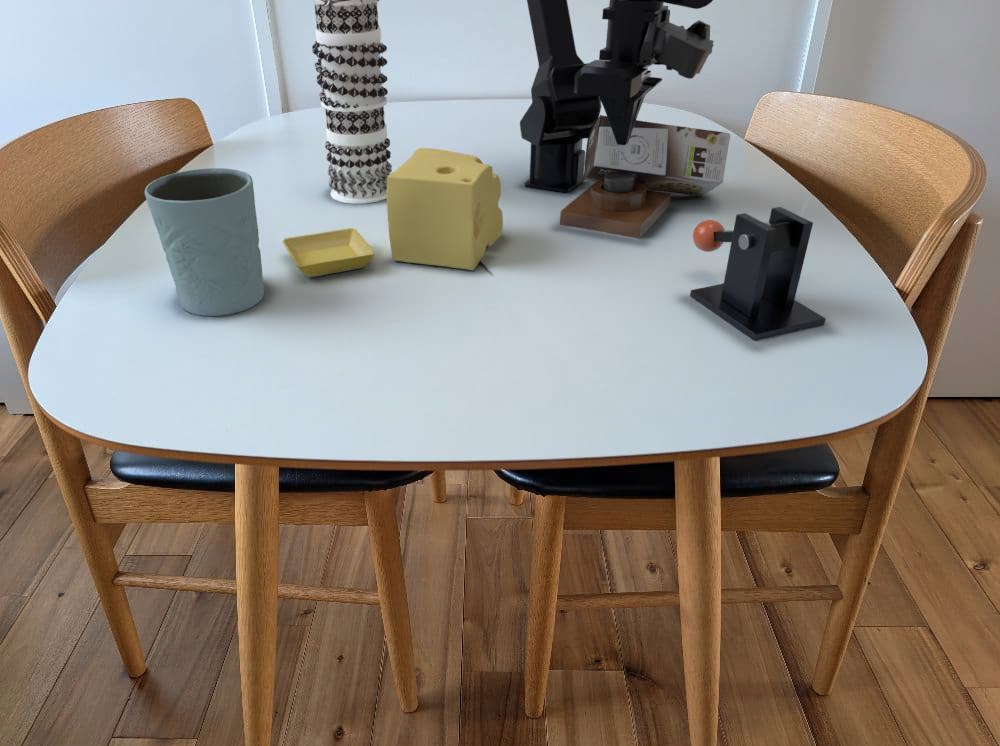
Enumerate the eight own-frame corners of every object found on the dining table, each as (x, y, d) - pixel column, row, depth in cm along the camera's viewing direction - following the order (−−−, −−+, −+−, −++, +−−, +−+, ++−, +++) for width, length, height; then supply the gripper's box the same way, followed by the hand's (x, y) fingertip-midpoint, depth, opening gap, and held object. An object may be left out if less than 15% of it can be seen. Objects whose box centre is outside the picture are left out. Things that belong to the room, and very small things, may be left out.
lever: (687, 253, 83) (685, 222, 82) (713, 248, 84) (711, 217, 83) (767, 257, 72) (766, 221, 71) (795, 252, 73) (794, 216, 72)
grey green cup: (219, 328, 77) (195, 208, 71) (149, 304, 82) (119, 189, 75) (291, 289, 84) (274, 176, 78) (222, 269, 89) (201, 160, 82)
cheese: (503, 238, 95) (504, 153, 89) (474, 275, 87) (474, 184, 81) (421, 228, 98) (417, 146, 92) (386, 263, 90) (379, 174, 84)
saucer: (283, 255, 92) (280, 238, 91) (356, 243, 94) (354, 226, 93) (299, 285, 85) (297, 267, 84) (377, 271, 88) (376, 253, 87)
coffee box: (731, 130, 97) (599, 113, 96) (723, 184, 97) (592, 167, 97) (708, 149, 106) (587, 133, 106) (700, 198, 106) (580, 182, 106)
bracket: (688, 300, 81) (704, 206, 75) (754, 287, 83) (773, 195, 78) (753, 346, 73) (775, 244, 68) (823, 329, 75) (849, 230, 70)
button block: (559, 228, 97) (561, 196, 95) (594, 198, 106) (596, 168, 104) (639, 242, 93) (643, 209, 91) (668, 210, 102) (673, 179, 100)
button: (598, 193, 97) (600, 179, 96) (609, 184, 100) (610, 170, 99) (627, 197, 96) (629, 183, 95) (637, 188, 98) (638, 174, 97)
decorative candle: (330, 207, 105) (307, -7, 91) (325, 184, 112) (303, -17, 98) (399, 201, 106) (387, -10, 92) (390, 179, 114) (377, -19, 100)
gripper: (687, 13, 76) (666, 177, 85) (733, -10, 89) (710, 132, 98) (577, 7, 80) (567, 162, 89) (636, -15, 94) (623, 122, 103)
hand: (622, 144), depth 95 cm, fingers closed
